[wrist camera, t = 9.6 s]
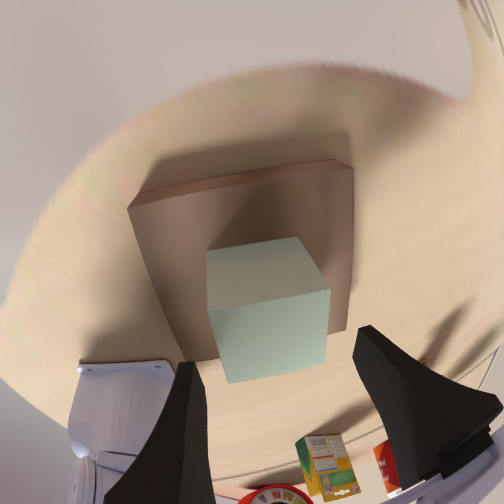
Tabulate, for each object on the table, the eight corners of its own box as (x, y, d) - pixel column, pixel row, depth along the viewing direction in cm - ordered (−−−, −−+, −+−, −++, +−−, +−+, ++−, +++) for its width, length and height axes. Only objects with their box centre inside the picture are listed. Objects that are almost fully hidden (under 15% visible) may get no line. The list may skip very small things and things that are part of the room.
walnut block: (187, 335, 22) (187, 363, 19) (139, 191, 16) (127, 208, 13) (332, 305, 23) (345, 329, 20) (331, 157, 17) (353, 168, 14)
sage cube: (221, 319, 18) (228, 383, 13) (206, 251, 15) (207, 311, 11) (298, 306, 18) (323, 364, 14) (297, 236, 16) (330, 288, 11)
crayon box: (293, 443, 35) (311, 507, 25) (304, 435, 34) (324, 502, 24) (329, 441, 38) (349, 498, 28) (340, 433, 37) (362, 492, 26)
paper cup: (365, 451, 46) (384, 500, 34) (395, 434, 45) (418, 483, 32) (374, 453, 50) (392, 498, 38) (402, 438, 48) (422, 482, 36)
